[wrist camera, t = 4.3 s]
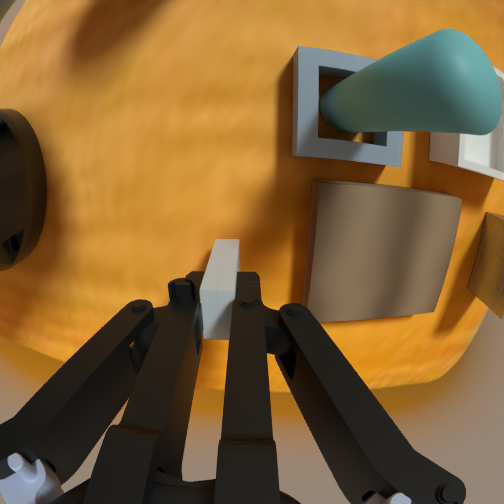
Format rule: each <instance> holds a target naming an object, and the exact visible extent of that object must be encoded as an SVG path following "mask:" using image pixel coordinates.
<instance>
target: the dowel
mask: <svg viewBox="0 0 504 504" xmlns="http://www.w3.org/2000/svg"><path fill="white" fill-rule="evenodd" d="M501 111H502V95H501V89H500V84H499V81H498V78H497V75H496V72H495V70H494V68H493V66H492V64H491V62H490V60H489V59H488V57H487V55H486V54H485V53H484V51H483V50H482V49H481V48H480V47H479V45H478V44H477V43H476V42H475V41H474V40H472V39H471V38H470V37H469V36H467V35H466V34H464V33H462V32H460V31H457V30H454V29H442V30H440V31H437V32H435V33H433V34H430V35H428V36H426V37H424V38H422V39H419V40H417V41H415V42H413V43H411V44H409V45H407V46H405V47H403V48H401V49H399V50H397V51H395V52H393V53H391V54H389V55H387V56H385V57H383V58H381V59H379V60H377V61H376V62H374V63H372V64H370V65H368V66H366V67H365V68H363V69H361V70H359V71H358V72H356V73H354V74H352V75H351V76H349V77H347V78H346V79H344V80H342V81H341V82H339V83H337V84H336V85H334V86H332V87H331V88H329V89H328V90H327V91H325V93H324V94H323V96H322V98H321V101H320V112H321V115H322V117H323V119H324V121H325V122H326V123H327V124H328V125H329V126H330V127H331V128H332V129H334V130H336V131H338V132H342V133H356V132H382V131H420V132H445V133H460V134H471V135H486V134H489V133H490V132H492V131H493V130H494V129H495V128H496V126H497V124H498V122H499V120H500V116H501Z"/></svg>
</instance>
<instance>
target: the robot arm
mask: <svg viewBox="0 0 504 504" xmlns="http://www.w3.org/2000/svg"><path fill="white" fill-rule="evenodd" d="M15 1H16V0H0V22H1V20H2V19H3V17H4V16H5V14H6V13H7V11H8V10H9V9H10V7H11V6H12V5H13V3H14V2H15ZM45 207H46V179H45V170H44V163H43V158H42V153H41V149H40V146H39V143H38V140H37V137H36V135H35V133H34V130H33V129H32V127H31V125H30V124H29V122H28V121H27V119H26V118H25V117H24V116H23V115H22V114H20V113H19V112H17V111H15V110H12V109H0V271H3V270H6V269H9V268H11V267H13V266H14V265H16V264H17V263H18V262H20V261H21V260H23V259H24V258H25V257H27V256H28V255H29V254H30V253H31V251H32V250H33V249H34V247H35V245H36V243H37V241H38V239H39V236H40V234H41V230H42V226H43V222H44V216H45ZM168 290H169V298H170V301H169V303H168V305H167V306H163V307H157V308H153V305H152V303H151V302H150V301H147V300H142V299H139V300H135V301H132V302H130V303H128V304H127V305H126V306H125V307H124V308H122V309H121V310H120V311H119V312H118V313H117V314H116V315H115V316H114V317H113V318H112V319H111V320H110V321H108V322H107V323H106V324H105V325H104V326H103V327H102V328H101V329H100V330H99V331H98V332H97V333H96V334H95V335H94V336H93V337H91V338H90V339H89V340H88V341H87V342H86V343H85V344H84V345H83V346H82V347H81V348H80V349H79V350H78V351H77V352H76V353H75V354H74V355H73V356H72V357H71V358H70V359H69V360H68V361H67V362H66V363H65V364H64V365H63V366H62V367H61V368H60V369H59V370H58V371H57V372H56V373H55V374H54V375H53V376H52V377H51V378H50V379H49V380H48V381H47V382H46V383H45V384H44V385H43V386H42V387H41V388H40V389H39V391H37V392H36V394H35V395H34V396H33V397H32V398H31V399H30V400H29V401H28V402H27V403H26V404H25V406H23V408H21V410H20V411H19V412H18V413H17V414H16V415H15V416H14V417H13V418H11V419H9V420H8V421H6V422H4V423H2V424H1V425H0V492H1V493H2V496H3V498H4V499H5V502H6V503H7V504H301V503H299V502H298V501H297V500H296V499H294V498H293V497H291V496H290V495H288V494H286V493H284V492H282V491H279V478H278V466H277V465H278V464H277V452H276V444H275V441H274V440H273V431H272V418H271V404H270V390H269V376H268V363H267V353H269V354H274V355H275V359H276V361H277V363H278V366H279V368H280V370H281V372H282V374H283V376H284V378H285V380H286V382H287V384H288V386H289V388H290V391H291V393H292V395H293V397H294V399H295V401H296V403H297V405H298V407H299V409H300V411H301V413H302V415H303V417H304V419H305V421H306V423H307V425H308V427H309V429H310V431H311V433H312V435H313V437H314V439H315V441H316V443H317V445H318V447H319V449H320V451H321V453H322V455H323V457H324V459H325V461H326V462H327V464H328V466H329V468H330V470H331V472H332V474H333V476H334V478H335V480H336V482H337V484H338V486H339V487H340V489H341V490H342V492H343V494H344V495H345V497H346V498H347V500H348V501H349V502H350V503H351V504H463V502H464V500H465V497H466V488H465V485H464V483H463V482H462V481H461V480H460V479H459V478H458V477H456V476H454V475H453V474H451V473H449V472H448V471H446V470H445V469H443V468H442V467H440V466H438V465H437V464H435V463H434V462H432V461H431V460H429V459H427V458H426V457H424V456H423V455H421V454H420V453H418V452H417V451H415V450H414V449H413V448H412V446H411V445H410V444H409V442H408V441H407V439H406V438H405V437H404V436H403V434H402V433H401V431H400V430H399V429H398V427H397V426H396V425H395V423H394V422H393V420H392V419H391V418H390V417H389V415H388V414H387V412H386V411H385V410H384V409H383V407H382V406H381V405H380V403H379V402H378V400H377V399H376V398H375V396H374V395H373V394H372V392H371V391H370V390H369V388H368V387H367V386H366V384H365V383H364V382H363V380H362V379H361V378H360V376H359V375H358V374H357V372H356V371H355V370H354V368H353V367H352V366H351V364H350V363H349V362H348V360H347V359H346V358H345V356H344V355H343V354H342V352H341V351H340V350H339V348H338V347H337V346H336V344H335V343H334V342H333V341H332V339H331V338H330V337H329V335H328V334H327V333H326V331H325V330H324V329H323V327H322V326H321V325H320V323H319V322H318V321H317V320H316V318H315V317H314V316H313V314H312V313H311V312H310V310H309V309H308V308H307V307H305V306H303V305H301V304H297V303H289V304H285V305H283V306H282V307H280V309H279V311H278V310H274V309H270V308H268V307H266V306H265V305H264V304H263V302H262V300H261V289H260V276H259V275H258V274H257V273H256V272H239V239H216V240H215V243H214V246H213V249H212V252H211V255H210V258H209V261H208V265H207V268H206V271H205V272H199V271H192V272H190V273H189V274H188V275H186V277H185V278H178V279H174V280H172V281H170V282H169V283H168ZM202 334H203V336H204V339H215V340H229V348H228V359H227V371H226V383H225V395H224V407H223V420H222V433H221V439H220V441H219V446H218V456H217V469H216V479H212V480H203V481H194V482H187V481H183V480H182V460H183V453H184V447H185V441H186V435H187V428H188V423H189V417H190V411H191V406H192V400H193V394H194V389H195V383H196V378H197V373H198V367H199V362H200V357H201V352H202V347H203V345H202ZM132 342H133V345H132V346H131V347H130V345H131V343H132ZM129 397H130V398H129ZM128 399H129V400H128ZM127 400H128V403H127V406H126V408H125V411H124V414H123V417H122V420H121V422H120V423H119V424H118V425H111V426H110V427H109V428H108V426H109V425H110V424H111V422H112V421H113V419H114V418H115V417H116V415H117V414H118V412H119V411H120V410H121V408H122V407H123V405H124V404H125V403H126V401H127ZM107 428H108V430H107V432H106V434H105V437H104V440H103V443H102V445H101V448H100V451H99V454H98V457H97V460H96V463H95V465H94V468H93V472H92V475H91V478H89V479H88V480H86V481H84V482H83V483H81V484H79V485H78V486H76V487H74V488H73V489H71V490H69V491H67V492H66V493H64V491H63V490H62V489H61V485H62V484H63V483H65V482H66V481H67V480H68V479H69V478H70V477H71V476H73V474H75V472H76V471H77V470H78V469H79V467H80V466H81V465H82V463H83V462H84V460H85V459H86V458H87V456H88V455H89V453H90V452H91V450H92V449H93V448H94V446H95V445H96V443H97V442H98V441H99V439H100V438H101V436H102V435H103V433H104V432H105V431H106V429H107Z"/></svg>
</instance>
